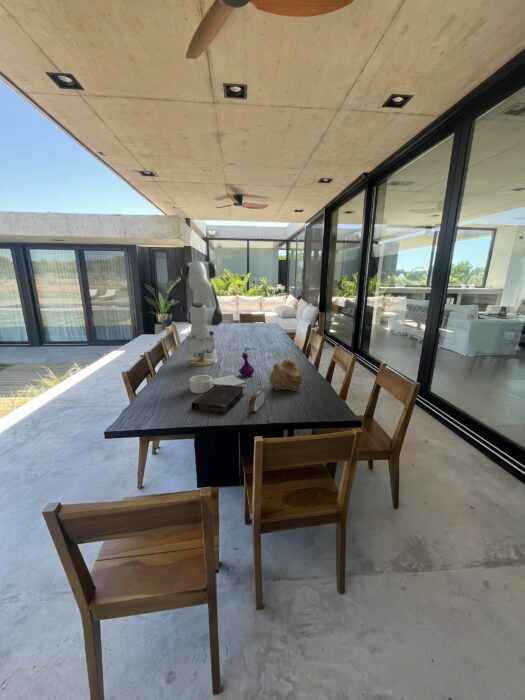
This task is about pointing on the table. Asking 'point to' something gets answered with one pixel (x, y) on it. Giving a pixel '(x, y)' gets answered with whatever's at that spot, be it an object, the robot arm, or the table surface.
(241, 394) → the diary
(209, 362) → the lid
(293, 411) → the table surface
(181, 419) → the table surface
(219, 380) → the trivet
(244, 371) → the perfume bottle
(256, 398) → the tin
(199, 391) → the bowl
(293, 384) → the rough brown rock
